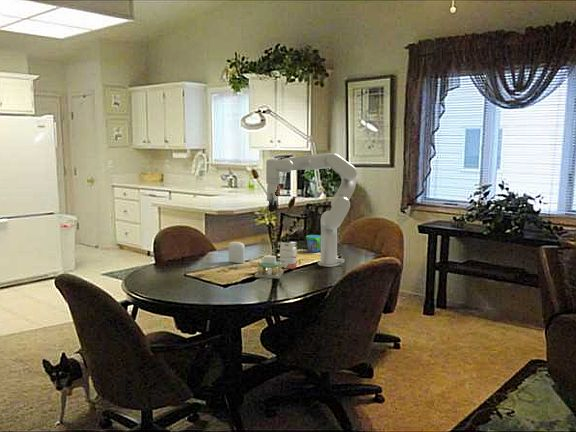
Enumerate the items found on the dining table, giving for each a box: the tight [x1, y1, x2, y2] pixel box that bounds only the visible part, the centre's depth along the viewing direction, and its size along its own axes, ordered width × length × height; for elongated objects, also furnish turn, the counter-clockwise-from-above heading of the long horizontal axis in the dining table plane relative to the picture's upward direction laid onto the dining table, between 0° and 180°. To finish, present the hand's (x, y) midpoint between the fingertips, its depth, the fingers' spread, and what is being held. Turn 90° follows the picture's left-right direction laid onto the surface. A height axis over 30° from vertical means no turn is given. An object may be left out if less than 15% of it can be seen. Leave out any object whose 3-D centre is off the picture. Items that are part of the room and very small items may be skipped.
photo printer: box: [227, 241, 246, 264], centre depth 331 cm, size 10×4×12 cm, turn 61°
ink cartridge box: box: [279, 241, 297, 270], centre depth 320 cm, size 9×5×15 cm, turn 62°
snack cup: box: [305, 234, 321, 253], centre depth 366 cm, size 16×10×10 cm
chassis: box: [254, 259, 285, 279], centre depth 303 cm, size 14×13×7 cm
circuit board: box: [258, 255, 280, 268], centre depth 303 cm, size 12×10×5 cm
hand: (272, 210), depth 321 cm, fingers open, 9 cm apart
